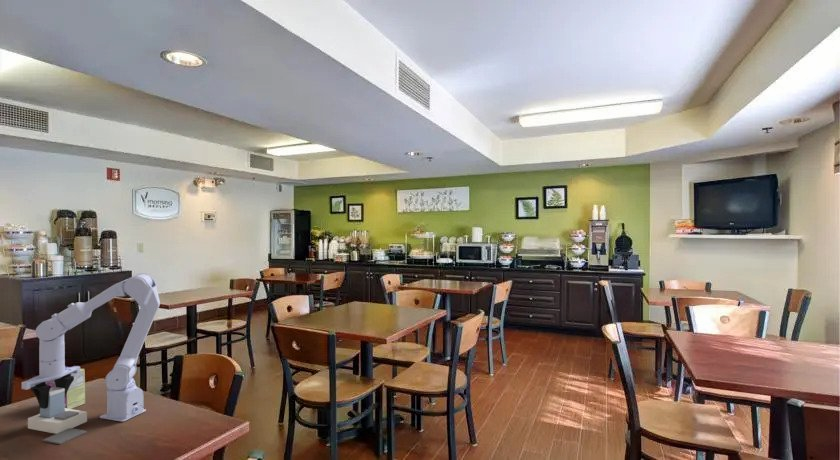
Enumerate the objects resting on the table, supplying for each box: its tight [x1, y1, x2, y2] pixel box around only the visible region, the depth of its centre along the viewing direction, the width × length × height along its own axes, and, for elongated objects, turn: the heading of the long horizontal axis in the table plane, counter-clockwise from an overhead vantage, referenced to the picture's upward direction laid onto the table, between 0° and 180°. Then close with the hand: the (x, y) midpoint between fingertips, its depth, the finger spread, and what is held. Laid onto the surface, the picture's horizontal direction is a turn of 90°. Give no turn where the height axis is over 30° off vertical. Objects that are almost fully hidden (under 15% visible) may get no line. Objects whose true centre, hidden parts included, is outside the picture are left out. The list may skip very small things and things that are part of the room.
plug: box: [39, 387, 65, 419], centre depth 126 cm, size 4×4×8 cm
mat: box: [42, 427, 88, 445], centre depth 119 cm, size 6×7×1 cm
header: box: [27, 408, 88, 435], centre depth 125 cm, size 12×8×4 cm, turn 75°
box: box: [46, 366, 86, 409], centre depth 139 cm, size 10×6×12 cm, turn 73°
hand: (52, 404), depth 126 cm, fingers closed on plug, 4 cm apart
